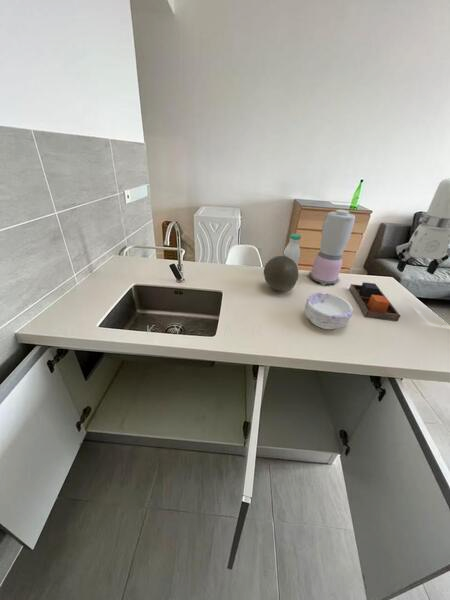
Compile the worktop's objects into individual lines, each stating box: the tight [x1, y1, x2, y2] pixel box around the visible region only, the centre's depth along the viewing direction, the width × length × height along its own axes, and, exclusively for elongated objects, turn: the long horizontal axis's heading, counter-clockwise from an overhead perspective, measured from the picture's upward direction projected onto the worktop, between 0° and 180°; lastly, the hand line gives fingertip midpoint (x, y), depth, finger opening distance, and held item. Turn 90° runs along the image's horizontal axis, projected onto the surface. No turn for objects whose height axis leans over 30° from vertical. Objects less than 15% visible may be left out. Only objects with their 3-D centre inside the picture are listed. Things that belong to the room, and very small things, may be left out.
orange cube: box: [367, 295, 391, 313], centre depth 94 cm, size 5×5×5 cm
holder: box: [348, 283, 401, 322], centre depth 100 cm, size 12×22×3 cm, turn 171°
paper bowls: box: [303, 292, 354, 330], centre depth 86 cm, size 15×15×8 cm
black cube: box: [359, 281, 380, 297], centre depth 103 cm, size 5×5×5 cm
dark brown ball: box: [263, 255, 299, 292], centre depth 102 cm, size 14×14×15 cm
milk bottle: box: [282, 233, 302, 268], centre depth 115 cm, size 8×8×20 cm
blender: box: [309, 209, 356, 287], centre depth 110 cm, size 16×12×32 cm
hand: (414, 271), depth 86 cm, fingers open, 9 cm apart
